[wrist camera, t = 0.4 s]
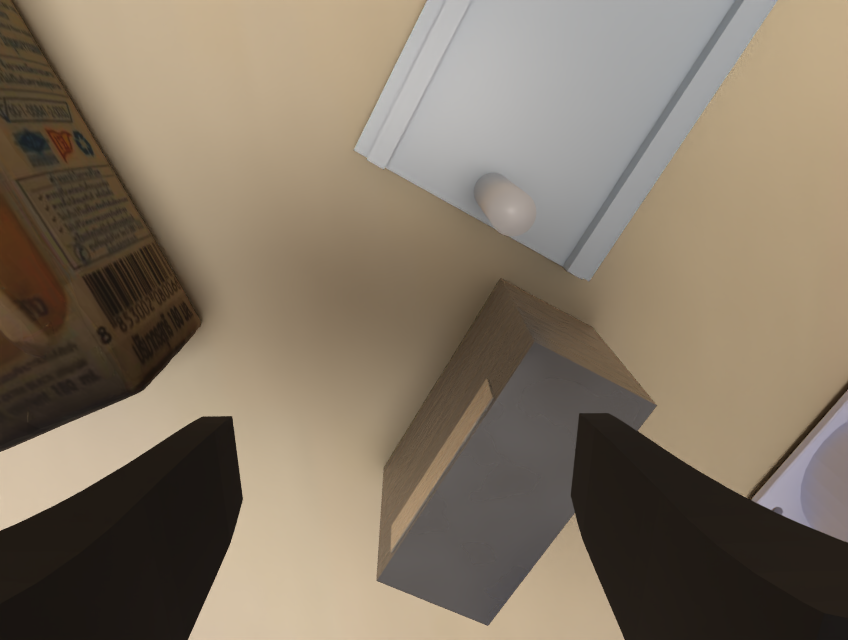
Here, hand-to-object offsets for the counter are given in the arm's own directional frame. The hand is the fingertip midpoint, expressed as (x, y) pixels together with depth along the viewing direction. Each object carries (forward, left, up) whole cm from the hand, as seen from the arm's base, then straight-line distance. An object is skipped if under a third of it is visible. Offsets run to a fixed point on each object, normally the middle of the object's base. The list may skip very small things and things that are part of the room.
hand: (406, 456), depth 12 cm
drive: (-4, +2, -10) cm, 11 cm away
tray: (0, -11, -10) cm, 15 cm away
